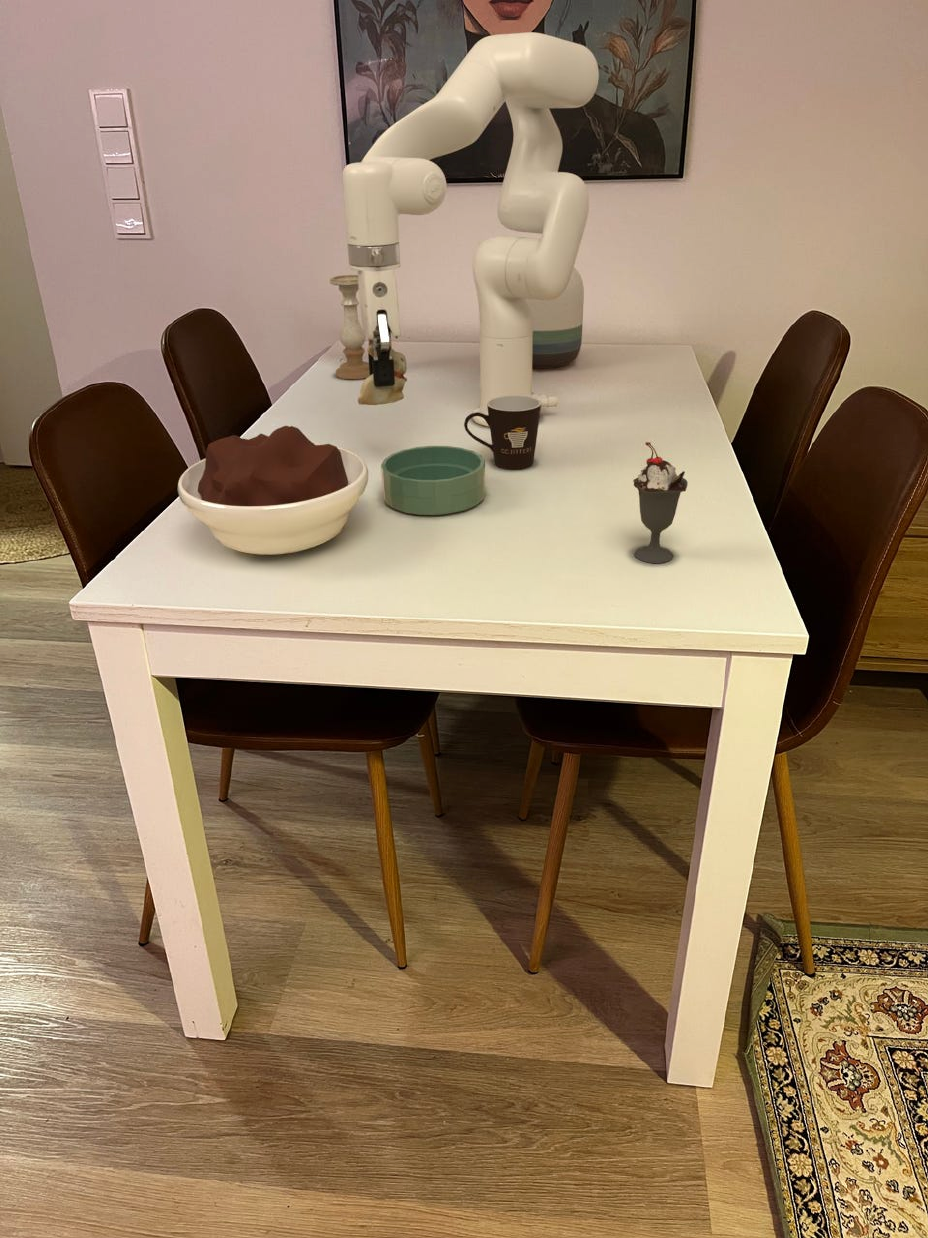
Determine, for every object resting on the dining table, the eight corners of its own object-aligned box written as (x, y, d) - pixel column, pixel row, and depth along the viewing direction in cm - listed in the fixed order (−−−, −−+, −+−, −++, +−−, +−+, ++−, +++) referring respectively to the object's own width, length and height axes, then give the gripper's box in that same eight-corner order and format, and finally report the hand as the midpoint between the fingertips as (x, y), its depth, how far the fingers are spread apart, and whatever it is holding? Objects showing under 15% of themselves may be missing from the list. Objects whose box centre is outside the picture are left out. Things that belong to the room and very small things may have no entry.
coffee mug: (545, 456, 151) (547, 397, 146) (532, 474, 144) (533, 412, 139) (479, 450, 154) (478, 392, 150) (463, 467, 147) (461, 407, 142)
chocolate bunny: (408, 403, 141) (405, 338, 136) (357, 406, 140) (352, 340, 135) (407, 394, 146) (404, 330, 141) (358, 396, 145) (353, 332, 140)
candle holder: (383, 372, 201) (377, 275, 191) (359, 381, 195) (351, 282, 185) (352, 367, 205) (344, 272, 195) (327, 376, 199) (318, 279, 189)
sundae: (621, 545, 120) (629, 436, 113) (671, 543, 121) (682, 434, 113) (634, 568, 115) (643, 454, 107) (686, 565, 115) (698, 451, 108)
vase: (531, 351, 215) (532, 242, 203) (594, 360, 206) (599, 247, 194) (491, 367, 203) (490, 252, 191) (556, 377, 194) (559, 257, 182)
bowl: (472, 475, 144) (472, 441, 142) (495, 511, 131) (495, 475, 129) (378, 484, 142) (375, 450, 139) (391, 522, 129) (389, 485, 126)
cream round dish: (343, 584, 112) (331, 468, 105) (156, 572, 116) (132, 460, 109) (392, 507, 134) (385, 406, 126) (232, 499, 138) (217, 401, 130)
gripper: (408, 263, 126) (414, 393, 135) (391, 247, 140) (398, 366, 149) (354, 266, 125) (364, 397, 134) (343, 250, 139) (352, 369, 148)
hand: (382, 379), depth 142 cm, fingers closed on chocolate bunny, 4 cm apart
